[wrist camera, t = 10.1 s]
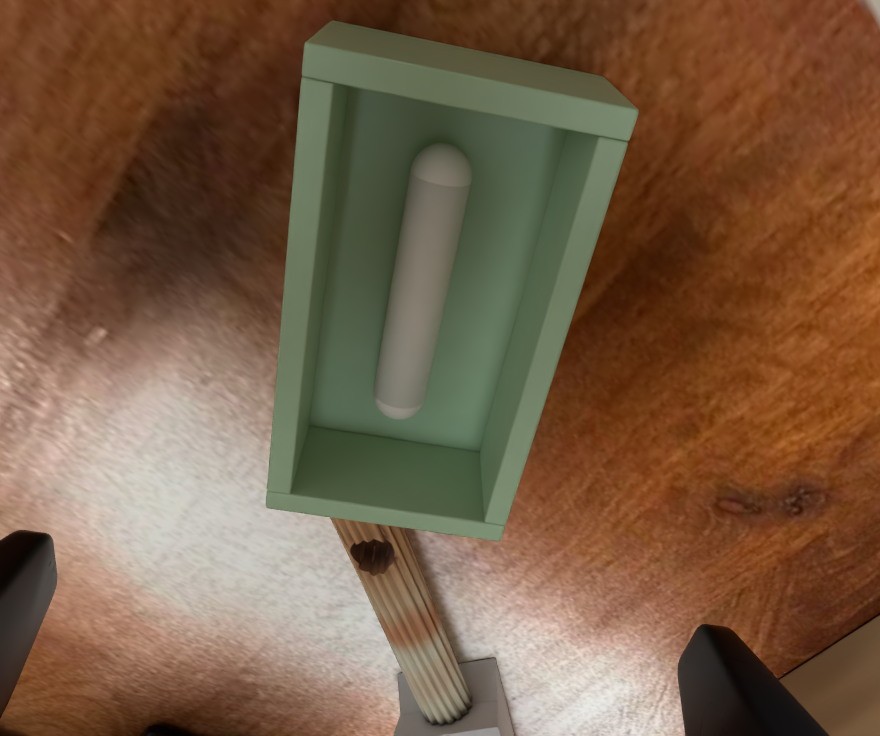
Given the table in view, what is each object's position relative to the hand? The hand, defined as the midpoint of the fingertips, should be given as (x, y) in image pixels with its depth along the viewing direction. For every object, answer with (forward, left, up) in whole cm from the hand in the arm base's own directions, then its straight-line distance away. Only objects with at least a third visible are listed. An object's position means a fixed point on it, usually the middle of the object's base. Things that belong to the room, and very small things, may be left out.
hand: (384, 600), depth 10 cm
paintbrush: (-12, -10, -8) cm, 17 cm away
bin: (0, 0, -10) cm, 11 cm away
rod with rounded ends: (0, 0, -9) cm, 9 cm away
